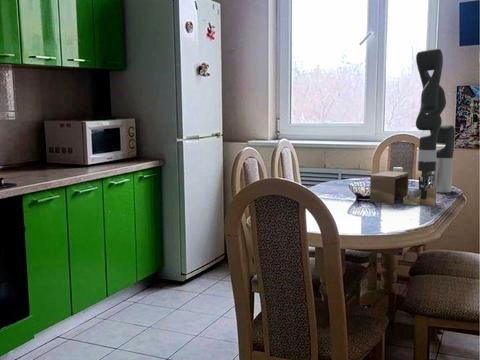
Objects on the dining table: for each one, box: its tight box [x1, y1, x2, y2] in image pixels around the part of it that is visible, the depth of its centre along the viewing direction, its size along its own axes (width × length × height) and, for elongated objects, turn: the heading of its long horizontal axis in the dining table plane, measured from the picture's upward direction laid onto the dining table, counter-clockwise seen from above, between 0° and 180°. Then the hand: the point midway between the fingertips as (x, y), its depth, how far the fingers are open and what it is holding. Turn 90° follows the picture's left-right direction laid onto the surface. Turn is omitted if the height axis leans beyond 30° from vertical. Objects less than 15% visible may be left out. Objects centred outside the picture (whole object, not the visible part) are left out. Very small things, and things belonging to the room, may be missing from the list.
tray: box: [402, 187, 438, 206], centre depth 242 cm, size 12×12×7 cm
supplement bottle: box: [392, 166, 404, 172], centre depth 269 cm, size 7×7×13 cm
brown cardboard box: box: [369, 170, 410, 205], centre depth 250 cm, size 18×11×12 cm, turn 143°
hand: (425, 198), depth 241 cm, fingers open, 5 cm apart
